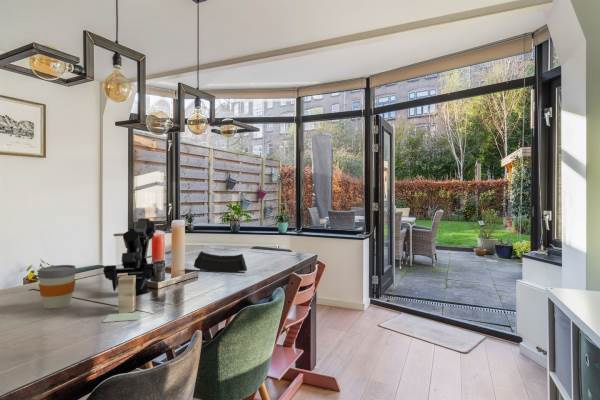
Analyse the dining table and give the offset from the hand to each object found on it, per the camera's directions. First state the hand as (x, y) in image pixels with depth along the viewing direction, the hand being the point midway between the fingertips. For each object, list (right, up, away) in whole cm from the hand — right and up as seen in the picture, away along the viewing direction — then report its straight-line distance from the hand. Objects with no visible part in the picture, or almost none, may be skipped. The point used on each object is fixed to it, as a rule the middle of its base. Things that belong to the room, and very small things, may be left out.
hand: (127, 289), depth 134 cm
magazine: (+20, -7, +69) cm, 72 cm away
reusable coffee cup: (-31, -8, +6) cm, 32 cm away
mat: (+2, -8, -8) cm, 11 cm away
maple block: (0, -8, 0) cm, 8 cm away
